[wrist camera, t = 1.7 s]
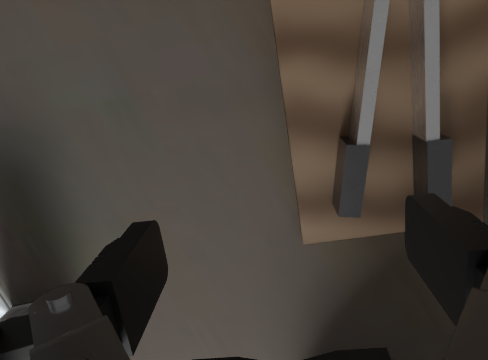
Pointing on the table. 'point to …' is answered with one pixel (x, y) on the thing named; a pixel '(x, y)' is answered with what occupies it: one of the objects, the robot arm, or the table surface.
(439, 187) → the arm
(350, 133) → the arm
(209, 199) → the table surface
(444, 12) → the board
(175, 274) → the table surface
